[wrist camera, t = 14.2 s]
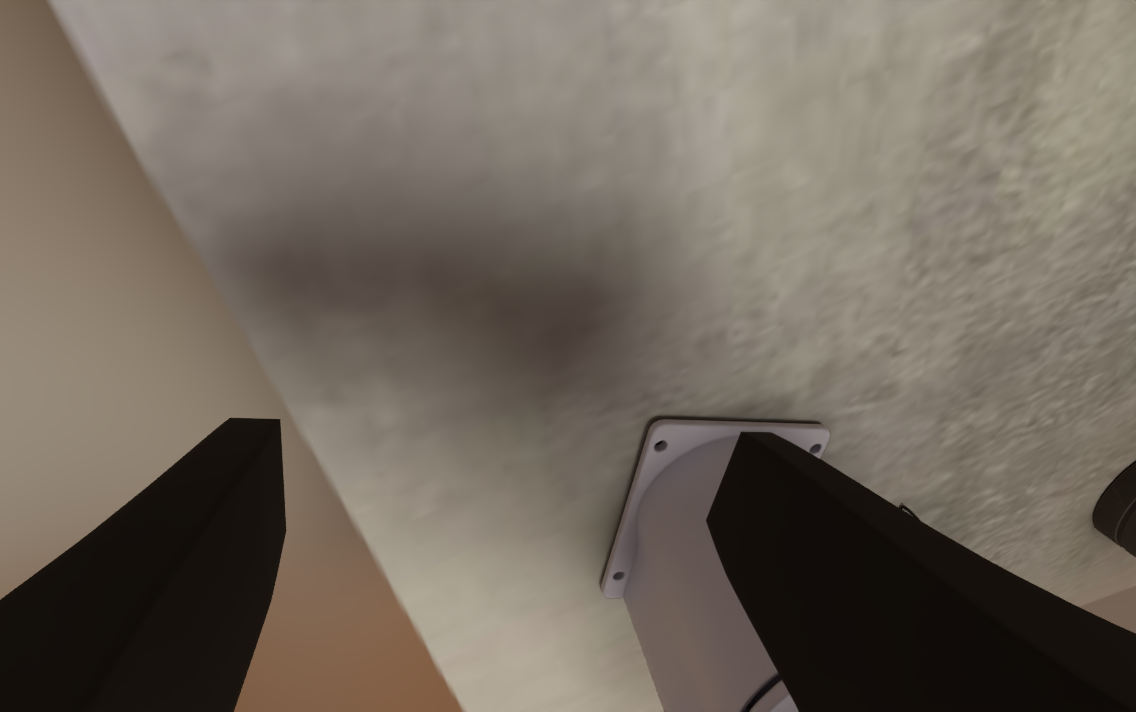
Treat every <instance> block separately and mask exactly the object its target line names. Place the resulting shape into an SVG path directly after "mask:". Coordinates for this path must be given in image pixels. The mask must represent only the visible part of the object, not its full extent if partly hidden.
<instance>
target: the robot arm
mask: <svg viewBox="0 0 1136 712" xmlns="http://www.w3.org/2000/svg"><path fill="white" fill-rule="evenodd" d="M280 426H281V425H280V419H253V418H229V419H228V420H227V421H225V422H224V423H223V424H222V425H220V426H219V427H218V428H217V429H215V430H214V431H213V432H212V433H211V434H210V435H208V436H207V437H206V438H205V439H204V440H202V441H201V442H200V443H199V444H198V445H196V446H195V447H194V448H193V449H192V450H191V451H190V452H188V453H187V454H186V455H185V456H183V457H182V458H181V459H180V460H179V461H177V462H176V463H175V464H174V465H173V466H172V467H170V468H169V469H168V470H167V471H166V472H164V473H163V474H162V475H161V476H160V477H158V478H157V479H156V480H155V481H154V482H153V483H151V484H150V485H149V486H148V487H147V488H145V489H144V490H143V491H142V492H140V493H139V494H138V495H137V496H135V497H134V498H133V499H132V500H131V501H129V502H128V503H127V504H126V505H124V506H123V507H122V508H120V509H119V510H118V511H117V512H115V513H114V514H113V515H112V516H110V517H109V518H108V519H107V520H106V521H104V522H103V523H102V524H100V525H99V526H98V527H97V528H96V529H94V530H93V531H92V532H90V533H89V534H88V535H87V536H85V537H84V538H83V539H81V540H80V541H79V542H77V543H76V544H75V545H74V546H72V547H71V548H69V549H68V550H67V551H65V552H64V553H63V554H61V555H60V556H59V557H58V558H56V559H55V560H53V561H52V562H51V563H49V564H48V565H47V566H45V567H44V568H42V569H41V570H40V571H38V572H37V573H36V574H34V575H33V576H32V577H30V578H29V579H28V580H26V581H25V582H24V583H23V584H21V585H20V586H18V587H17V588H15V589H14V590H13V591H11V592H10V593H9V594H8V595H6V596H5V597H4V598H2V599H1V600H0V712H234V709H235V706H236V704H237V700H238V697H239V695H240V692H241V688H242V686H243V683H244V680H245V677H246V674H247V671H248V668H249V665H250V662H251V659H252V657H253V653H254V651H255V648H256V645H257V642H258V639H259V636H260V633H261V630H262V627H263V624H264V621H265V618H266V615H267V612H268V609H269V606H270V602H271V599H272V595H273V590H274V586H275V581H276V577H277V572H278V567H279V563H280V558H281V553H282V548H283V544H284V538H285V534H286V517H285V500H284V480H283V462H282V443H281V427H280ZM829 438H830V431H829V430H828V429H827V428H826V427H825V426H824V425H821V424H797V423H766V422H735V421H704V420H673V419H662V420H658V421H656V422H654V423H653V424H652V425H651V427H650V428H649V431H648V434H647V437H646V441H645V444H644V447H643V450H642V454H641V457H640V460H639V463H638V467H637V470H636V473H635V476H634V480H633V483H632V486H631V490H630V493H629V496H628V499H627V503H626V506H625V509H624V512H623V516H622V519H621V522H620V526H619V529H618V532H617V535H616V539H615V542H614V545H613V548H612V552H611V555H610V558H609V561H608V565H607V568H606V571H605V575H604V578H603V581H602V584H601V591H602V594H603V596H604V597H605V598H608V599H617V598H624V600H625V603H626V606H627V609H628V611H629V614H630V617H631V620H632V623H633V625H634V628H635V631H636V634H637V637H638V639H639V642H640V645H641V648H642V651H643V654H644V656H645V659H646V662H647V665H648V668H649V670H650V673H651V676H652V679H653V682H654V684H655V687H656V690H657V693H658V696H659V698H660V701H661V704H662V707H663V710H664V712H1136V634H1135V633H1133V632H1131V631H1128V630H1126V629H1124V628H1122V627H1120V626H1117V625H1115V624H1113V623H1111V622H1109V621H1107V620H1105V619H1102V618H1100V617H1098V616H1096V615H1094V614H1092V613H1090V612H1088V611H1086V610H1084V609H1081V608H1079V607H1077V606H1075V605H1073V604H1071V603H1069V602H1067V601H1065V600H1063V599H1061V598H1059V597H1057V596H1056V595H1054V594H1052V593H1050V592H1048V591H1046V590H1044V589H1042V588H1040V587H1038V586H1036V585H1034V584H1032V583H1030V582H1028V581H1026V580H1024V579H1022V578H1020V577H1018V576H1016V575H1014V574H1013V573H1011V572H1009V571H1007V570H1005V569H1003V568H1001V567H1000V566H998V565H996V564H994V563H992V562H990V561H989V560H987V559H985V558H983V557H981V556H980V555H978V554H976V553H974V552H973V551H971V550H969V549H967V548H966V547H964V546H962V545H960V544H959V543H957V542H955V541H953V540H952V539H950V538H948V537H947V536H945V535H943V534H941V533H940V532H938V531H936V530H934V529H933V528H931V527H929V526H928V525H926V524H924V523H923V522H921V521H919V520H918V519H916V518H914V517H913V516H911V515H909V514H908V513H906V512H905V511H903V510H901V509H900V508H898V507H896V506H895V505H893V504H892V503H890V502H888V501H887V500H885V499H883V498H882V497H880V496H879V495H877V494H875V493H874V492H872V491H871V490H869V489H867V488H866V487H864V486H863V485H861V484H859V483H858V482H856V481H855V480H853V479H851V478H850V477H848V476H847V475H845V474H843V473H842V472H840V471H839V470H837V469H835V468H834V467H832V466H831V465H829V464H827V463H826V462H824V461H822V460H821V459H820V457H821V455H822V453H823V451H824V449H825V447H826V445H827V443H828V441H829ZM659 441H663V442H662V443H661V444H659V445H656V446H655V444H656V443H657V442H659Z"/></svg>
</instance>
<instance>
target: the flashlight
mask: <svg viewBox="0 0 1136 712" xmlns="http://www.w3.org/2000/svg"><path fill="white" fill-rule="evenodd" d="M1094 524H1095V527H1096V528H1097V529H1098V530H1099V531H1100V532H1101V533H1103V534H1104V535H1105V536H1107V537H1108V538H1109V539H1111V540H1112V541H1114V542H1115V543H1116V544H1118V545H1119V546H1121V547H1123V548H1124V549H1125V550H1126V551H1127V552H1129V553H1130V554H1132V555H1133V556H1134V557H1136V462H1135V463H1134V464H1133V465H1132V466H1130V467H1129V468H1128V469H1127V470H1126V471H1125V472H1123V473H1122V474H1121V475H1120V476H1119V477H1118V478H1117V479H1116V480H1115V481H1114V482H1113V484H1112V485H1111V486H1110V487H1109V488H1108V489H1107V491H1106V492H1105V494H1104V495H1103V496H1102V498H1101V500H1100V501H1099V503H1098V505H1097V507H1096V510H1095V514H1094Z"/></svg>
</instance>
